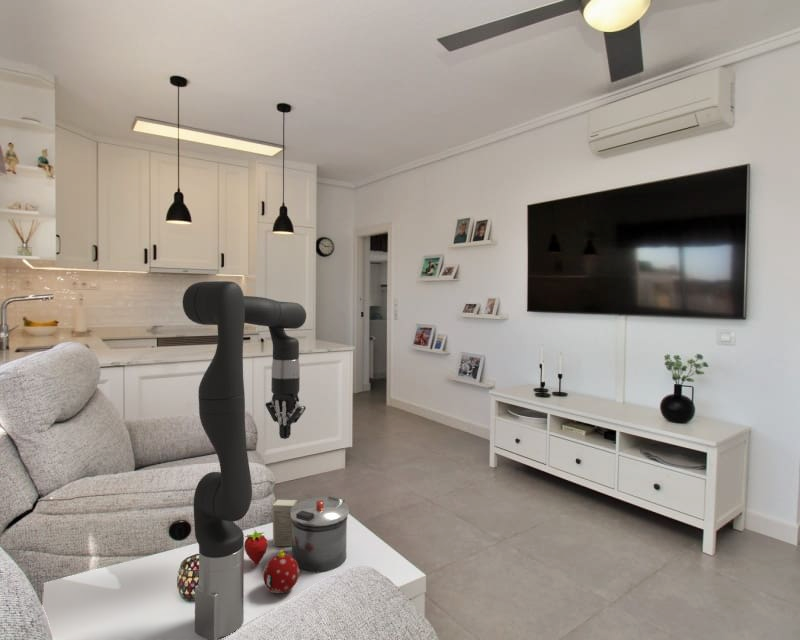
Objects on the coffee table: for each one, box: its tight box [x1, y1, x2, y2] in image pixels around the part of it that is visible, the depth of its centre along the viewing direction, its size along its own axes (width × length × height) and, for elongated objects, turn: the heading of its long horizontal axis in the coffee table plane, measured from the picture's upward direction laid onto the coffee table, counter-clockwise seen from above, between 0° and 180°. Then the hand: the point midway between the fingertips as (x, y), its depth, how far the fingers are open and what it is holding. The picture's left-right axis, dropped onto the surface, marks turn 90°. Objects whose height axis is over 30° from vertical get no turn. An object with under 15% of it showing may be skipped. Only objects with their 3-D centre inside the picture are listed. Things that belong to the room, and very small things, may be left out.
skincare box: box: [272, 499, 298, 547], centre depth 142 cm, size 6×4×12 cm
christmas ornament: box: [262, 549, 300, 594], centre depth 118 cm, size 9×9×10 cm
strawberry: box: [244, 529, 268, 566], centre depth 130 cm, size 6×8×10 cm
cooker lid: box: [290, 496, 350, 526], centre depth 134 cm, size 17×16×3 cm
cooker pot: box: [291, 516, 348, 573], centre depth 134 cm, size 15×15×12 cm
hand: (284, 437), depth 132 cm, fingers closed
